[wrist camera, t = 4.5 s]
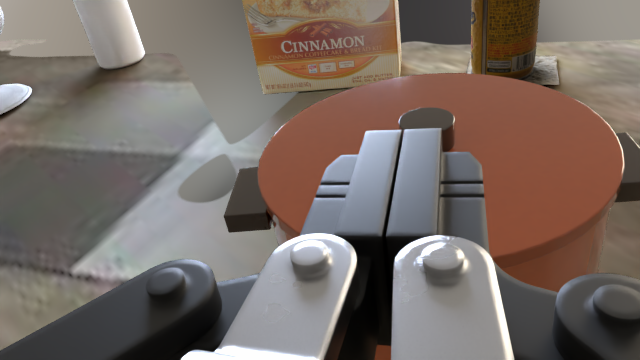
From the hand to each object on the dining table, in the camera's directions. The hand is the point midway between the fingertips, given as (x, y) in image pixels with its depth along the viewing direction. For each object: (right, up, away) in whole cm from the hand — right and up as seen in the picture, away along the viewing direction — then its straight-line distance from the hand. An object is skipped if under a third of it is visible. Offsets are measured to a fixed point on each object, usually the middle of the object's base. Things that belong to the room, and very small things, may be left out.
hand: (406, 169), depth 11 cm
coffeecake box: (0, +11, +47) cm, 49 cm away
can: (-29, +16, +63) cm, 72 cm away
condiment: (+17, +10, +42) cm, 46 cm away
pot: (+5, -7, +18) cm, 20 cm away
